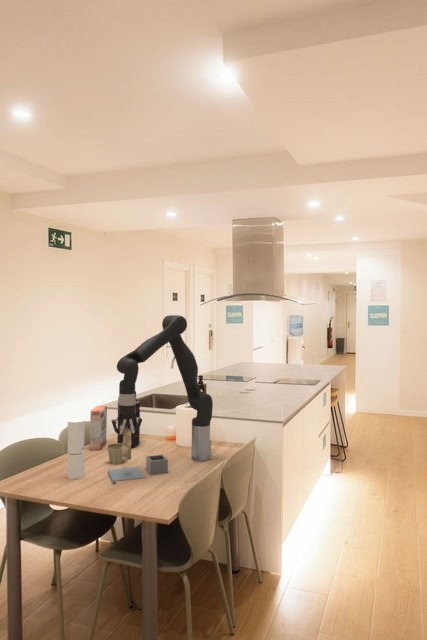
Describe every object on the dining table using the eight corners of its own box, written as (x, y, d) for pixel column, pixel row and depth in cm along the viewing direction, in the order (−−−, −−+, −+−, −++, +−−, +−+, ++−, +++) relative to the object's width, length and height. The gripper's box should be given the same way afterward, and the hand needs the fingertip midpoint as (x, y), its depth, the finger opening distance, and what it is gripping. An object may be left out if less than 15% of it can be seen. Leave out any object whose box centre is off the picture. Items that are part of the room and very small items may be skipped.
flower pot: (121, 467, 224) (122, 449, 224) (103, 466, 226) (103, 448, 226) (129, 461, 233) (129, 443, 233) (111, 459, 235) (111, 442, 235)
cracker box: (100, 450, 250) (101, 411, 250) (89, 450, 250) (89, 410, 250) (107, 443, 264) (107, 405, 264) (96, 442, 264) (96, 405, 264)
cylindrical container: (87, 474, 214) (87, 419, 214) (77, 479, 208) (78, 422, 207) (73, 472, 217) (74, 417, 216) (63, 477, 210) (64, 421, 209)
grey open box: (162, 469, 223) (163, 454, 223) (167, 474, 215) (167, 459, 215) (146, 471, 220) (146, 456, 220) (150, 477, 212) (150, 461, 212)
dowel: (130, 456, 215) (130, 428, 215) (131, 459, 211) (132, 430, 211) (121, 457, 213) (121, 428, 213) (122, 460, 210) (123, 431, 209)
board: (138, 469, 222) (138, 466, 222) (145, 480, 209) (145, 476, 209) (107, 473, 216) (107, 469, 216) (113, 484, 203) (113, 480, 203)
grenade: (121, 441, 267) (122, 388, 266) (142, 443, 265) (142, 389, 264) (113, 449, 253) (113, 392, 252) (134, 450, 251) (135, 393, 250)
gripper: (141, 400, 218) (140, 438, 218) (109, 402, 213) (109, 440, 213) (144, 404, 211) (144, 442, 211) (112, 405, 206) (111, 445, 206)
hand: (126, 441), depth 212 cm, fingers closed on dowel, 4 cm apart
